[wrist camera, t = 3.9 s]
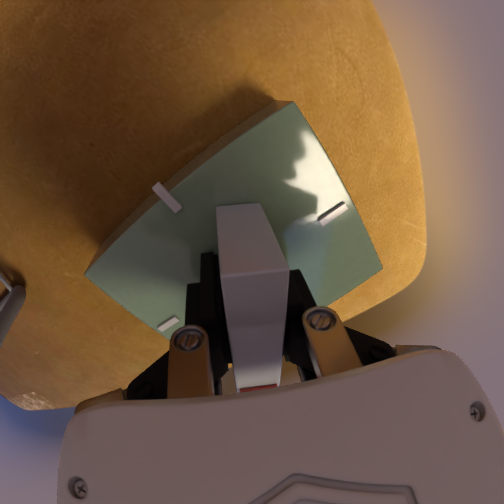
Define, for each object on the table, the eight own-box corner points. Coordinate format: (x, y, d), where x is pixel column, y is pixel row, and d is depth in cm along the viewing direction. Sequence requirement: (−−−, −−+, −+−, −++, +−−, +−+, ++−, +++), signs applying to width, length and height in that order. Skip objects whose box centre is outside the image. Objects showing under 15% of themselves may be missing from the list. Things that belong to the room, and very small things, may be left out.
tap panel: (268, 89, 11) (286, 87, 8) (363, 247, 17) (387, 276, 14) (93, 236, 13) (73, 269, 11) (217, 338, 19) (220, 374, 17)
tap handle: (215, 205, 10) (220, 282, 7) (260, 201, 11) (293, 274, 7) (229, 327, 14) (239, 406, 10) (262, 324, 14) (280, 400, 11)
